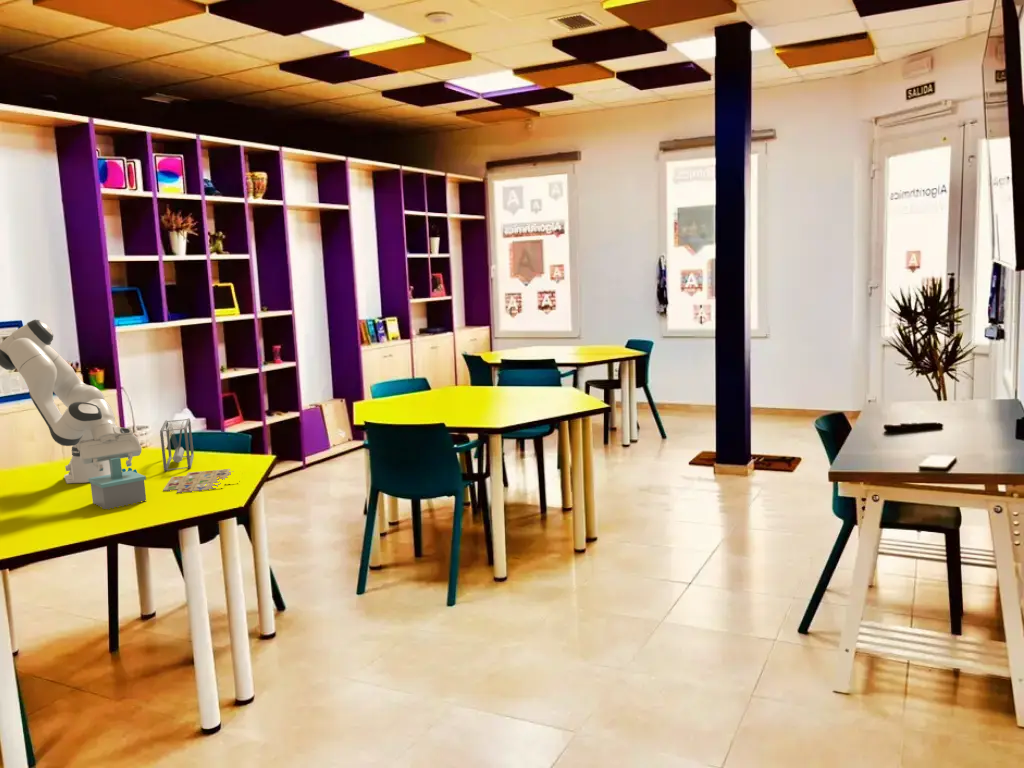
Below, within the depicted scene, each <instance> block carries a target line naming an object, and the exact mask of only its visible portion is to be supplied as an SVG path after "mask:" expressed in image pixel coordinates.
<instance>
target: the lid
mask: <svg viewBox="0 0 1024 768" xmlns="http://www.w3.org/2000/svg"><path fill="white" fill-rule="evenodd" d="M121 460H122V458H119V457H115V458H110V459H109V464H110V473H111V474H110V475H104V476H99V477H94V478H88V481H89V482H88V483H90V484H91V483H92V484H94V485H96V486H98V487H100V488H105V487H110V486H116V485H121V484H126V483H131V482H136V481H141V480H144V481H145V480H147V477H146V475H143V474H141V473H139V472H137V473H136V472H134V471H133V470H132V471H128V470H126V471H125V472H122V469H123V468H122V461H121Z"/></svg>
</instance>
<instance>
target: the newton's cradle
mask: <svg viewBox="0 0 1024 768" xmlns="http://www.w3.org/2000/svg"><path fill="white" fill-rule="evenodd" d="M185 422H186V423H185ZM184 423H185V425H184ZM173 424H176V425H173ZM177 425H180V426H177ZM183 425H184V428H183ZM174 431H179V438H178V439H179V440H177V437H176V435H175V432H174ZM164 432H166V441H167V451H168V459H166V458H167V457H166V449H165V447H166V446H165V439H164ZM183 432H184V442H185V449H184V448H183V446H181V445H182V444H181V442H182V435H183V434H182V433H183ZM159 433H160V435H159V437H160V443H161V444H160V446H161V453H162V454H161V455H162V462H163V464H162V465H163V470H164V472H168V471H171V470H172V471H173V470H180V469H189V470H190V469H192V464H193V461H194V457H195V454H194V445H193V435H192V434H193V433H192V425H191V419H190V418H187V419H175V420H167V419H166V420H164V422H163V424H162V426H161V429H160V430H159ZM171 442H172V445H173V448H174V453H173V456H172V447H171ZM189 445H190V447H189ZM185 452H186V456H185V455H184V453H185ZM183 458H186V460H187V461H186V463H187V467H185V466H184V467H176V468H169V467H170V463H171V461H172V460H173V462H174V463H180V462H182V461H183Z"/></svg>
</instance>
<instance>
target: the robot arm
mask: <svg viewBox="0 0 1024 768" xmlns="http://www.w3.org/2000/svg"><path fill="white" fill-rule="evenodd" d="M53 340H54V334H53V332H52V329H51V328H50V326H49V325H48V324H47V323H45V322H43V321H41V320H40V319H33V320H30V321H28V322H27V323H26V324H24V325H23V326H21V327H19V328H17V329H16V330H15V331H13V332H12V333H11V334H10V335H9V336H7V337H6V338H5V339H4V340H2V341H1V342H0V367H1V368H3V369H4V370H7V371H13V370H17V371H18V373H19V374H20V375H21V376H22V378H23V379H24V381H25V383H26V386H27V389H28V392H29V397H30V399H31V401H32V403H33V404H34V406H35V408H36V410H37V411H38V413H39V414H40V416H41V417H42V419H43V421H44V422H45V424H46V425H47V428H48V431H49V433H50V436H51V438H52V439H53V441H54V442H55V443H57V444H58V445H60V446H64V447H65V446H66V447H71V456H72V457H71V459H70V461H69V463H68V464H67V465H64V466H65V472H68V473H67V474H64V476H63V477H64V480H65V483H66V484H81V483H82V484H83V483H84V484H85V483H90V482H89V481H88V478H94V477H99V476H104V475H110V474H111V473H110V464H109V459H110V458H115V457H119V458H120V459H126V458H127V459H128V460H126V461H125V464H126V467H128V468H130V467H132V463H133V462H132V460H133V457H138V456H140V455H141V454H142V445H141V443H140V440H139V438H138V437H137V436H136V435H135V434H134V429H133V428H129V427H121V426H120V427H119V426H118V425H117V424H116V416H115V414H114V411H113V409H112V407H111V406H110V404H109V403H108V402H107V400H105V395H104V394H103V392H102V391H101V389H99V388H97V387H95V386H94V385H89V384H87V383H84V381H82V380H81V378H80V377H79V376H78V374H77V373H76V371H75V370H74V369H75V368H73V367H72V366H71V364H70V363H69V362H67V361H66V360H65V359H64V357H62V355H60V353H59V352H57V351H56V350H55V349H54V348H53V347H51V346H50V345H51V343H52V342H53ZM53 393H54V394H55V396H56V397H57V398H58V399H59V400H60V401H61V402H62V403H63V405H64V406H65V407H66V410H65V411H64V412H63V413H61V411H60V410H59V408H58V406H57V404H56V403H55V401H54V394H53Z"/></svg>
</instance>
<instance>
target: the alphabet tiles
mask: <svg viewBox="0 0 1024 768" xmlns="http://www.w3.org/2000/svg"><path fill="white" fill-rule="evenodd" d="M229 471H230V472H229ZM234 471H235V470H234ZM234 471H231V468H227V469H225V468H224V469H216V470H214V469H213V470H203V471H192V472H191V471H190V472H187V474H186V475H181V476H179V475H178V476H171V478H170V479H169V480H168V482H167V483H166V484H165V486H164V488H163V490H162V492H163V491H167V492H171V491H170V490H177V491H176V494H177V493H180V494H183V493H182V492H190V493H193V492H192V491H199V492H203V491H202V490H208V491H210V490H209V489H216V488H213V487H212V486H217V487H218V485H220V484H221V483H220V484H218V485H215V484H213V483H219V482H220V481H219V482H218V481H217V480H219V479H222V480H223V479H224V480H225V478H228V477H227V476H229V475H231V472H234ZM218 477H219V478H218ZM217 478H218V479H217ZM206 484H207V485H206ZM205 485H206V486H205Z"/></svg>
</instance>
